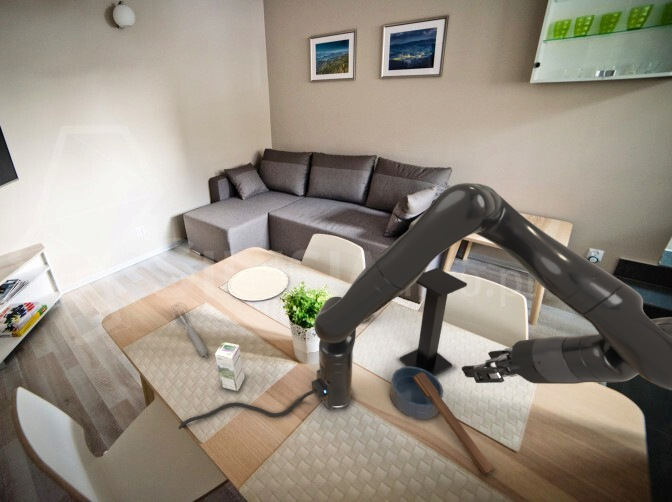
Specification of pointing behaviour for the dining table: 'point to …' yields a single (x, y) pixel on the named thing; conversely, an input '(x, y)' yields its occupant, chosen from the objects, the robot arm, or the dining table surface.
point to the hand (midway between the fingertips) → (478, 364)
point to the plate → (258, 283)
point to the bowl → (413, 393)
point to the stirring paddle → (452, 421)
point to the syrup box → (230, 366)
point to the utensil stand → (433, 321)
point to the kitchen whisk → (193, 335)
